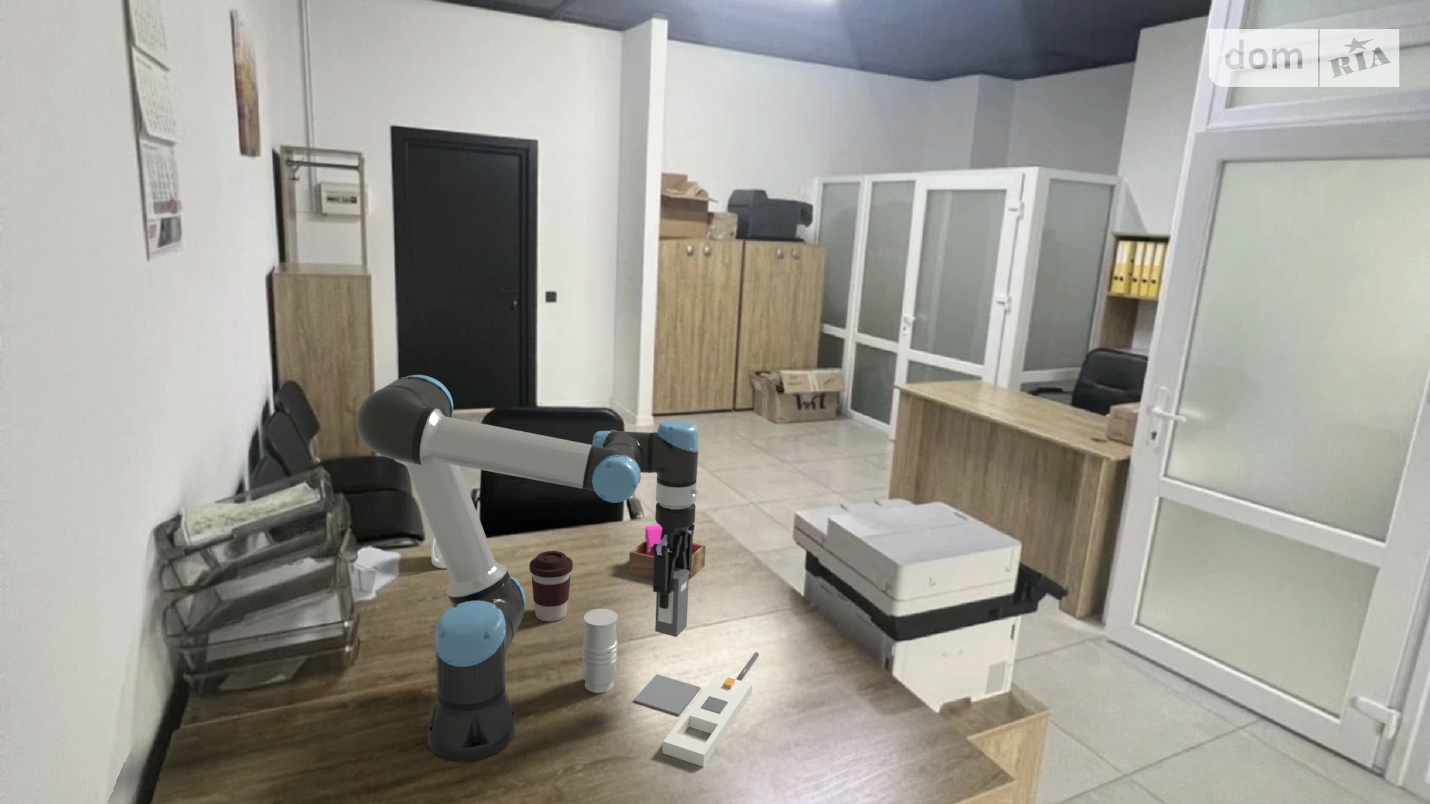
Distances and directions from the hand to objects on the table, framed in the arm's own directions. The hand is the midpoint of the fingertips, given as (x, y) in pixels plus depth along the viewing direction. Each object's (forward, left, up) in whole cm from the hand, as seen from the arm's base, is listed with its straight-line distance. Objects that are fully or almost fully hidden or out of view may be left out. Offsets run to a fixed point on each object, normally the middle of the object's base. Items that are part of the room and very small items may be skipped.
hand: (671, 615), depth 150 cm
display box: (+52, +26, -18) cm, 61 cm away
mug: (+26, +79, -18) cm, 85 cm away
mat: (0, 0, -18) cm, 18 cm away
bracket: (+52, +26, -18) cm, 61 cm away
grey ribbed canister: (-3, +14, -18) cm, 23 cm away
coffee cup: (+16, +39, -18) cm, 46 cm away
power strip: (+3, -11, -18) cm, 21 cm away
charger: (0, 0, -3) cm, 3 cm away
